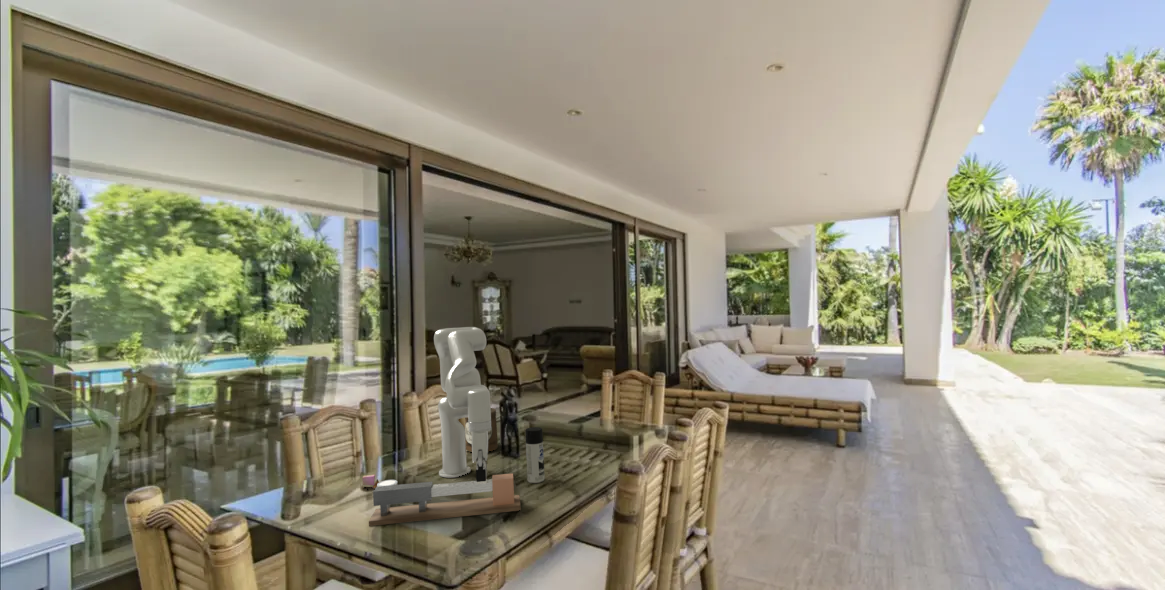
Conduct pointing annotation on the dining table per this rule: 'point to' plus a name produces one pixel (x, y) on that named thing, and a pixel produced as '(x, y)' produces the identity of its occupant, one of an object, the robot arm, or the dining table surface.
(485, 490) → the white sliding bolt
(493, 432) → the wooden container
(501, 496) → the socket
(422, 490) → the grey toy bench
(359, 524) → the dining table surface
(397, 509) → the base board
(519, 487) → the dining table surface
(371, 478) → the perfume bottle
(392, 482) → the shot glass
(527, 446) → the spray can
